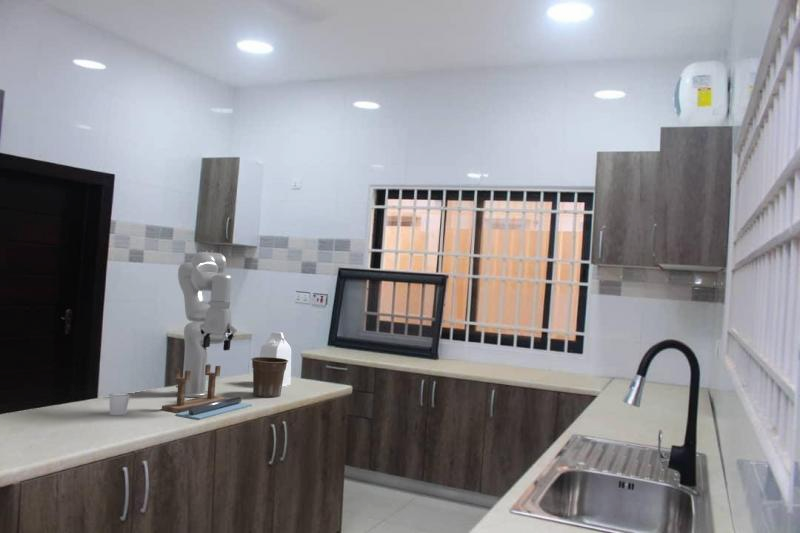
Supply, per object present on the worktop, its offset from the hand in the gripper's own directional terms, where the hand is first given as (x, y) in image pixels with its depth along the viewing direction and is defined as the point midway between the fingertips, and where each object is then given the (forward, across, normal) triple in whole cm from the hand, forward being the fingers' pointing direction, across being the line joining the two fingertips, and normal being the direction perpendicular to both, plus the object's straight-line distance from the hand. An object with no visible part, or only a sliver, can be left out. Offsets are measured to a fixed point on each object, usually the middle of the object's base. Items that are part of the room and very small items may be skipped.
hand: (216, 348), depth 249 cm
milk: (+26, -11, +61) cm, 67 cm away
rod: (+23, +3, -1) cm, 23 cm away
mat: (+24, +3, -1) cm, 24 cm away
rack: (+24, -9, +1) cm, 26 cm away
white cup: (+24, -21, -27) cm, 42 cm away
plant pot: (+25, +1, +38) cm, 45 cm away
